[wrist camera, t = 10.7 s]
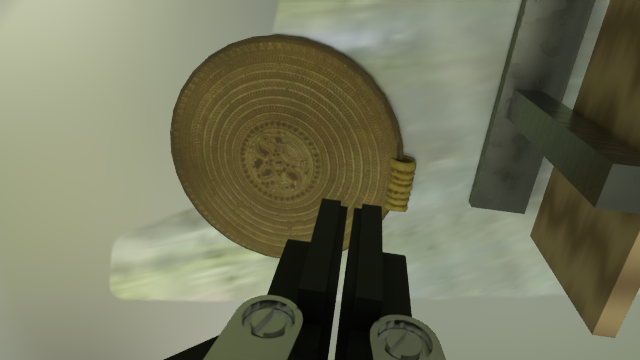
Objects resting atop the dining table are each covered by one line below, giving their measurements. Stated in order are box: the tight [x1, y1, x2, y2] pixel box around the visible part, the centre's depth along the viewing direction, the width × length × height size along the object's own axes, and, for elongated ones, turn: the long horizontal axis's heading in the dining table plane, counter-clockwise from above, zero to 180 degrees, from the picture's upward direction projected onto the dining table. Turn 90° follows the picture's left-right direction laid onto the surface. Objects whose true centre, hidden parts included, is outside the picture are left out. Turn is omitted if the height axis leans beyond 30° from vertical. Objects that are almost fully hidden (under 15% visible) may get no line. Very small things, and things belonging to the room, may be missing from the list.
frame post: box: [469, 0, 640, 214], centre depth 36 cm, size 25×6×22 cm, turn 175°
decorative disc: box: [170, 35, 416, 258], centre depth 51 cm, size 29×3×30 cm
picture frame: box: [530, 0, 640, 338], centre depth 33 cm, size 24×2×14 cm, turn 175°
